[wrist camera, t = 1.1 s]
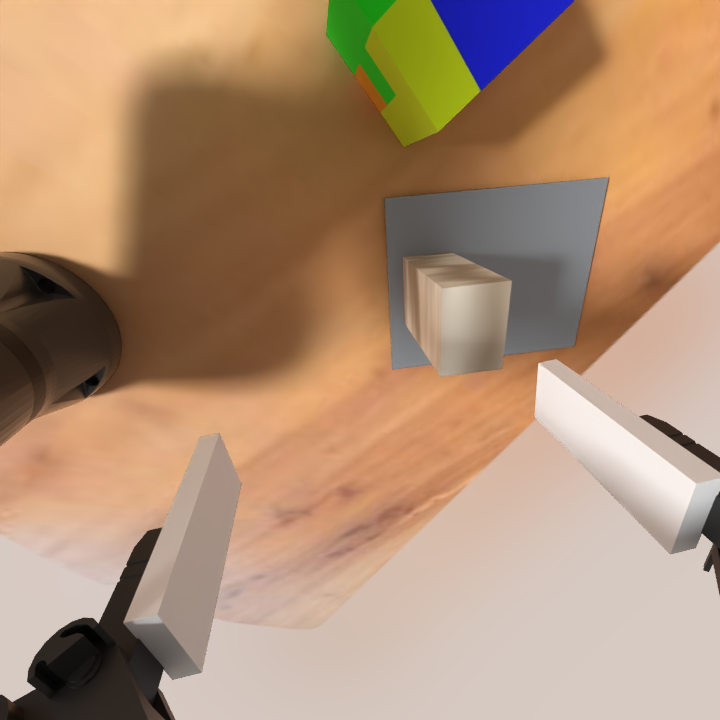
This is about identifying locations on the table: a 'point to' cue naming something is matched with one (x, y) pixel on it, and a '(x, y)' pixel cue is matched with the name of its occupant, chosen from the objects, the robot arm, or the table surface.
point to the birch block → (456, 312)
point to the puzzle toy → (432, 52)
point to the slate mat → (503, 254)
